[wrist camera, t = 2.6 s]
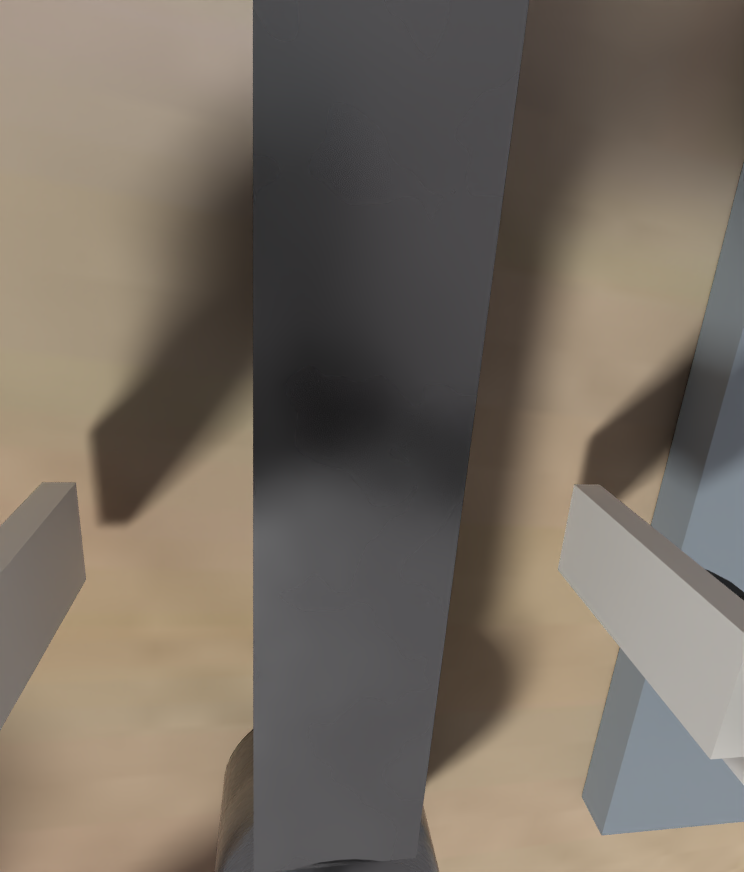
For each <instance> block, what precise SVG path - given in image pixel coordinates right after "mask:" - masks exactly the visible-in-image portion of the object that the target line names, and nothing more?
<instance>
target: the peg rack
mask: <svg viewBox="0 0 744 872" xmlns="http://www.w3.org/2000/svg"><path fill="white" fill-rule="evenodd" d="M651 526H652V527H653V528H654V529H656V530H657V531H658V532H659V533H660V534H662V535H663V536H664V537H665V538H667V539H668V540H669V541H670V542H672V543H673V544H674V545H675V546H677V547H678V548H679V549H680V550H682V551H683V552H684V553H685V554H687V555H688V556H689V557H690V558H691V559H693V560H694V561H695V562H696V563H698V564H699V565H700V566H701V567H703V568H704V569H705V570H709V571H711V572H713V573H715V574H717V575H719V576H721V577H723V578H725V579H726V580H728V581H730V582H732V583H733V584H734V585H736V586H737V587H738V588H739V589H741V590H742V591H743V592H744V163H743V167H742V171H741V175H740V179H739V183H738V186H737V190H736V194H735V198H734V202H733V206H732V210H731V214H730V218H729V222H728V226H727V230H726V233H725V237H724V241H723V245H722V249H721V253H720V257H719V261H718V265H717V269H716V273H715V277H714V280H713V284H712V288H711V292H710V296H709V300H708V304H707V308H706V312H705V316H704V320H703V324H702V328H701V331H700V335H699V339H698V343H697V347H696V351H695V355H694V359H693V363H692V367H691V371H690V375H689V378H688V382H687V386H686V390H685V394H684V398H683V402H682V406H681V410H680V414H679V418H678V422H677V425H676V429H675V433H674V437H673V441H672V445H671V449H670V453H669V457H668V461H667V465H666V469H665V473H664V476H663V480H662V484H661V488H660V492H659V496H658V500H657V504H656V508H655V512H654V516H653V520H652V523H651ZM582 798H583V800H584V802H585V804H586V806H587V808H588V810H589V812H590V814H591V816H592V818H593V820H594V822H595V823H596V825H597V827H598V829H599V831H600V833H601V835H611V834H621V833H631V832H642V831H652V830H662V829H672V828H683V827H693V826H703V825H713V824H724V823H734V822H744V757H736V758H723V759H710V758H709V757H708V756H707V755H706V753H705V752H704V751H703V750H702V749H701V747H700V746H699V745H698V744H697V742H696V741H695V740H694V739H693V737H692V736H691V735H690V734H689V732H688V731H687V730H686V729H685V727H684V726H683V725H682V724H681V722H680V721H679V720H678V719H677V717H676V716H675V715H674V714H673V712H672V711H671V710H670V709H669V707H668V706H667V705H666V704H665V703H664V701H663V700H662V699H661V698H660V696H659V695H658V694H657V693H656V691H655V690H654V689H653V688H652V686H651V685H650V684H649V683H648V681H647V680H646V679H645V678H644V676H643V675H642V674H641V673H640V671H639V670H638V669H637V668H636V666H635V665H634V664H633V663H632V662H631V660H630V659H629V658H628V657H627V655H626V654H625V653H624V652H623V650H622V649H621V648H620V649H619V653H618V657H617V661H616V665H615V668H614V672H613V676H612V680H611V684H610V688H609V692H608V696H607V700H606V704H605V708H604V712H603V716H602V719H601V723H600V727H599V731H598V735H597V739H596V743H595V747H594V751H593V755H592V759H591V763H590V766H589V770H588V774H587V778H586V782H585V786H584V790H583V794H582Z"/></svg>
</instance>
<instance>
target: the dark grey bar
mask: <svg viewBox="0 0 744 872" xmlns="http://www.w3.org/2000/svg"><path fill="white" fill-rule="evenodd" d="M528 5H529V0H253V730H252V731H251V732H250V733H249V734H248V735H247V736H246V737H245V738H244V739H243V740H242V741H241V742H240V744H239V745H238V746H237V747H236V749H235V751H234V752H233V754H232V755H231V757H230V760H229V762H228V764H227V768H226V772H225V777H224V786H223V796H222V805H221V815H220V824H219V833H218V843H217V852H216V862H215V871H214V872H439V869H438V865H437V861H436V857H435V853H434V848H433V844H432V840H431V836H430V832H429V828H428V823H427V819H426V815H425V811H424V807H423V801H424V793H425V786H426V778H427V771H428V763H429V755H430V748H431V740H432V733H433V725H434V718H435V710H436V702H437V695H438V687H439V680H440V672H441V665H442V657H443V649H444V642H445V634H446V627H447V619H448V611H449V604H450V596H451V589H452V581H453V574H454V566H455V558H456V551H457V543H458V536H459V528H460V521H461V513H462V505H463V498H464V490H465V483H466V475H467V467H468V460H469V452H470V445H471V437H472V430H473V422H474V414H475V407H476V399H477V392H478V384H479V377H480V369H481V361H482V354H483V346H484V339H485V331H486V323H487V316H488V308H489V301H490V293H491V286H492V278H493V270H494V263H495V255H496V248H497V240H498V232H499V225H500V217H501V210H502V202H503V195H504V187H505V179H506V172H507V164H508V157H509V149H510V142H511V134H512V126H513V119H514V111H515V104H516V96H517V88H518V81H519V73H520V66H521V58H522V51H523V43H524V35H525V28H526V20H527V13H528Z"/></svg>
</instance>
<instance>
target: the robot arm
mask: <svg viewBox="0 0 744 872" xmlns="http://www.w3.org/2000/svg"><path fill="white" fill-rule="evenodd" d="M558 571H559V572H560V573H561V575H562V576H563V577H564V578H565V579H566V581H567V582H568V583H569V584H570V586H571V587H572V588H573V589H574V591H575V592H576V593H577V594H578V596H579V597H580V598H581V599H582V601H583V602H584V603H585V604H586V606H587V607H588V608H589V609H590V611H591V612H592V613H593V614H594V616H595V617H596V618H597V619H598V620H599V622H600V623H601V624H602V625H603V627H604V628H605V629H606V630H607V632H608V633H609V634H610V635H611V637H612V638H613V639H614V640H615V642H616V643H617V644H618V645H619V647H620V648H621V649H622V650H623V652H624V653H625V654H626V655H627V657H628V658H629V659H630V660H631V662H632V663H633V664H634V665H635V666H636V668H637V669H638V670H639V671H640V673H641V674H642V675H643V676H644V678H645V679H646V680H647V681H648V683H649V684H650V685H651V686H652V688H653V689H654V690H655V691H656V693H657V694H658V695H659V696H660V698H661V699H662V700H663V701H664V703H665V704H666V705H667V706H668V707H669V709H670V710H671V711H672V712H673V714H674V715H675V716H676V717H677V719H678V720H679V721H680V722H681V724H682V725H683V726H684V727H685V729H686V730H687V731H688V732H689V734H690V735H691V736H692V737H693V739H694V740H695V741H696V742H697V744H698V745H699V746H700V747H701V749H702V750H703V751H704V752H705V753H706V755H707V756H708V757H709V758H710V759H723V758H736V757H744V592H743V591H742V590H741V589H739V588H738V587H737V586H736V585H734V584H733V583H732V582H730V581H728V580H726V579H725V578H723V577H721V576H719V575H717V574H715V573H713V572H711V571H709V570H705V569H704V568H703V567H701V566H700V565H699V564H698V563H696V562H695V561H694V560H693V559H691V558H690V557H689V556H688V555H687V554H685V553H684V552H683V551H682V550H680V549H679V548H678V547H677V546H675V545H674V544H673V543H672V542H670V541H669V540H668V539H667V538H665V537H664V536H663V535H662V534H660V533H659V532H658V531H657V530H656V529H654V528H653V527H652V526H651V525H649V524H648V523H647V522H646V521H644V520H643V519H642V518H641V517H639V516H638V515H637V514H636V513H634V512H633V511H632V510H631V509H629V508H628V507H627V506H626V505H625V504H623V503H622V502H621V501H620V500H618V499H617V498H616V497H615V496H613V495H612V494H611V493H610V492H608V491H607V490H606V489H605V488H603V487H602V486H601V485H600V484H574V488H573V494H572V499H571V504H570V509H569V514H568V520H567V525H566V530H565V535H564V540H563V546H562V551H561V556H560V561H559V566H558ZM85 580H86V574H85V565H84V555H83V546H82V537H81V527H80V518H79V508H78V499H77V489H76V482H42V483H41V484H40V485H39V486H38V487H37V488H36V489H35V490H34V492H33V493H32V494H31V495H30V496H29V497H28V498H27V499H26V500H25V501H24V502H23V503H22V504H21V505H20V506H19V507H18V508H17V509H16V510H15V511H14V512H13V513H12V514H11V515H10V516H9V518H8V519H7V520H6V521H5V522H4V523H3V524H2V525H1V526H0V730H1V728H2V726H3V725H4V723H5V721H6V719H7V718H8V716H9V714H10V712H11V710H12V709H13V707H14V705H15V703H16V702H17V700H18V698H19V696H20V695H21V693H22V691H23V689H24V688H25V686H26V684H27V682H28V681H29V679H30V677H31V675H32V674H33V672H34V670H35V668H36V667H37V665H38V663H39V661H40V659H41V658H42V656H43V654H44V652H45V651H46V649H47V647H48V645H49V644H50V642H51V640H52V638H53V637H54V635H55V633H56V631H57V630H58V628H59V626H60V624H61V623H62V621H63V619H64V617H65V616H66V614H67V612H68V610H69V609H70V607H71V605H72V603H73V601H74V600H75V598H76V596H77V594H78V593H79V591H80V589H81V587H82V586H83V584H84V582H85Z"/></svg>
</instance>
